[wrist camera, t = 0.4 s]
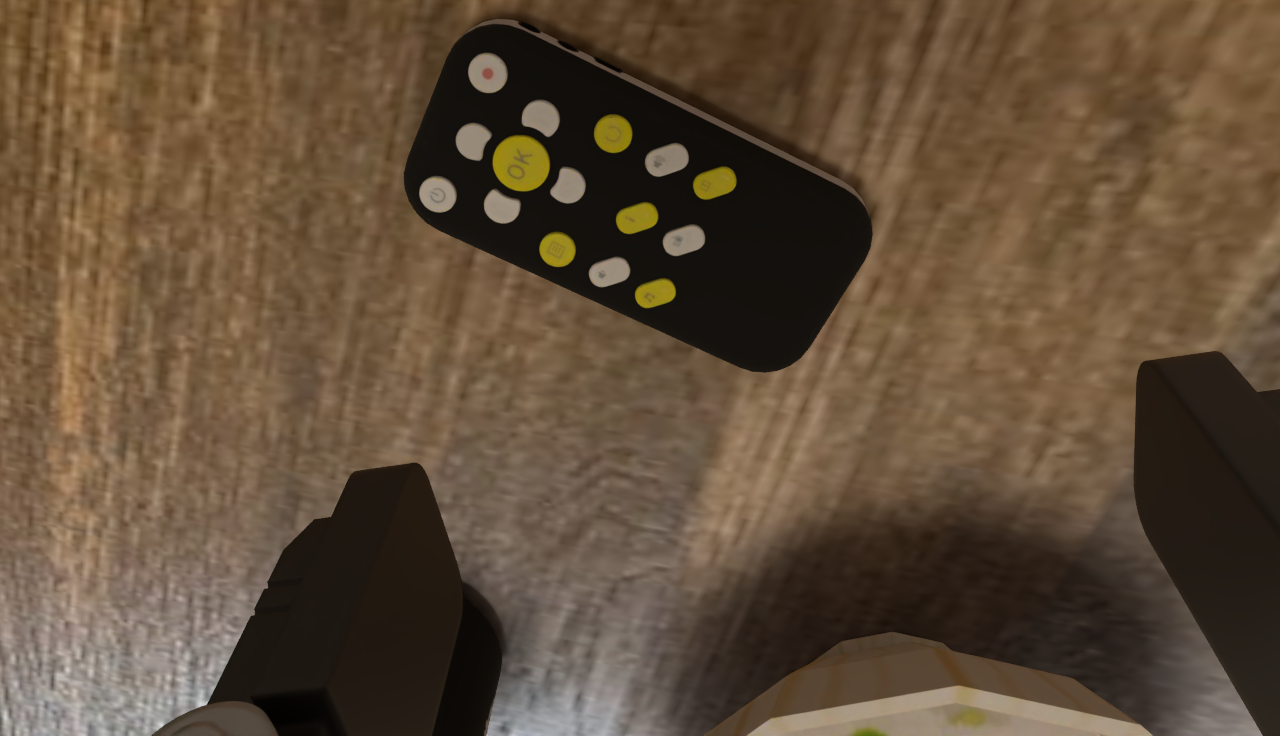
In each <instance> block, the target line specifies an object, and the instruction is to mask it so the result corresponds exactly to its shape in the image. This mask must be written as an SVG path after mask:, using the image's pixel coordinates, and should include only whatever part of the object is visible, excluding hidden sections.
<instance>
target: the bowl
mask: <svg viewBox="0 0 1280 736" xmlns="http://www.w3.org/2000/svg"><path fill="white" fill-rule="evenodd" d="M703 736H1153V735H1152V734H1150V733H1149V732H1148V731H1147V730H1146V729H1145V728H1144V727H1142V726H1141V725H1140V724H1139V723H1137V722H1136V721H1134V720H1133V719H1131V718H1130V717H1128V716H1127V715H1125V714H1124V713H1123V712H1121V711H1120V710H1118V709H1117V708H1115V707H1114V706H1112V705H1111V704H1109V703H1108V702H1107V701H1105V700H1104V699H1102V698H1101V697H1099V696H1098V695H1096V694H1095V693H1093V692H1092V691H1091V690H1089V689H1088V688H1086V687H1085V686H1083V685H1082V684H1080V683H1079V682H1078V681H1076V680H1075V679H1073V678H1070V677H1066V676H1061V675H1057V674H1053V673H1048V672H1044V671H1040V670H1035V669H1031V668H1027V667H1022V666H1018V665H1014V664H1009V663H1005V662H1001V661H996V660H992V659H987V658H983V657H978V656H974V655H969V654H964V653H960V652H955V651H952V650H950V649H949V648H948V647H947V646H946V645H945V644H943V643H942V642H937V641H932V640H928V639H923V638H919V637H914V636H910V635H905V634H901V633H896V632H888V633H883V634H878V635H872V636H867V637H862V638H856V639H851V640H846V641H841V642H839V643H838V644H837V645H835V646H834V647H832V648H831V649H830V650H828V651H827V652H825V653H824V654H822V655H821V656H820V657H818V658H817V659H815V660H814V661H813V662H811V663H810V664H808V665H806V666H804V667H802V668H800V669H798V670H796V671H794V672H793V673H791V674H789V675H788V676H786V677H785V678H783V679H782V680H780V681H779V682H778V683H776V684H775V685H773V686H772V687H771V688H769V689H768V690H766V691H765V692H764V693H762V694H761V695H759V696H758V697H756V698H755V699H754V700H752V701H751V702H749V703H748V704H747V705H745V706H744V707H742V708H741V709H740V710H738V711H737V712H735V713H734V714H732V715H731V716H730V717H728V718H727V719H725V720H724V721H723V722H721V723H720V724H718V725H717V726H716V727H714V728H713V729H711V730H710V731H709V732H707V733H706V734H704V735H703Z"/></svg>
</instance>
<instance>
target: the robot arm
mask: <svg viewBox="0 0 1280 736" xmlns="http://www.w3.org/2000/svg"><path fill="white" fill-rule="evenodd" d="M1134 492H1135V499H1136V505H1137V509H1138V514H1139V517H1140V520H1141V523H1142V526H1143V529H1144V531H1145V534H1146V536H1147V538H1148V539H1149V541H1150V543H1151V545H1152V546H1153V548H1154V550H1155V551H1156V553H1157V555H1158V557H1159V558H1160V560H1161V562H1162V563H1163V565H1164V567H1165V569H1166V570H1167V572H1168V574H1169V575H1170V577H1171V579H1172V581H1173V582H1174V584H1175V586H1176V587H1177V589H1178V591H1179V593H1180V594H1181V596H1182V598H1183V599H1184V601H1185V603H1186V605H1187V606H1188V608H1189V610H1190V611H1191V613H1192V615H1193V617H1194V618H1195V620H1196V622H1197V623H1198V625H1199V627H1200V629H1201V630H1202V632H1203V634H1204V635H1205V637H1206V639H1207V641H1208V642H1209V644H1210V646H1211V647H1212V649H1213V651H1214V653H1215V654H1216V656H1217V658H1218V659H1219V661H1220V663H1221V665H1222V666H1223V668H1224V670H1225V671H1226V673H1227V675H1228V677H1229V678H1230V680H1231V682H1232V683H1233V685H1234V687H1235V689H1236V690H1237V692H1238V694H1239V695H1240V697H1241V699H1242V701H1243V702H1244V704H1245V706H1246V707H1247V709H1248V711H1249V713H1250V714H1251V716H1252V718H1253V719H1254V721H1255V723H1256V725H1257V726H1258V728H1259V730H1260V731H1261V733H1262V735H1263V736H1280V389H1278V390H1270V391H1263V392H1256V390H1255V389H1254V388H1253V387H1252V386H1251V385H1250V384H1249V383H1248V381H1247V380H1246V379H1245V378H1244V377H1243V376H1242V375H1241V374H1240V372H1239V371H1238V370H1237V369H1236V368H1235V367H1234V366H1233V364H1232V363H1231V362H1230V361H1229V360H1228V359H1227V358H1226V357H1225V356H1224V355H1223V354H1222V353H1220V352H1218V351H1212V352H1205V353H1198V354H1191V355H1184V356H1177V357H1170V358H1163V359H1156V360H1149V361H1144V362H1143V363H1142V364H1141V365H1140V367H1139V370H1138V374H1137V383H1136V415H1135V449H1134ZM267 583H268V588H267V589H264V591H263V593H262V595H261V597H260V599H259V601H258V603H257V605H256V607H255V609H254V610H255V615H254V616H251V617H250V619H249V621H248V623H247V625H246V627H245V629H244V631H243V633H242V635H241V637H240V639H239V641H238V643H237V645H236V647H235V649H234V651H233V653H232V655H231V657H230V659H229V661H228V663H227V665H226V667H225V669H224V671H223V673H222V675H221V677H220V680H219V682H218V684H217V686H216V688H215V690H214V692H213V694H212V696H211V698H210V700H209V702H208V704H207V705H205V706H202V707H199V708H197V709H194V710H191V711H189V712H187V713H185V714H183V715H181V716H179V717H177V718H175V719H174V720H172V721H171V722H169V723H167V724H166V725H164V726H163V727H162V728H160V729H159V730H158V731H156V732H155V733H154V734H153V735H152V736H432V733H433V729H434V725H435V721H436V718H437V714H438V710H439V706H440V702H441V698H442V694H443V690H444V686H445V682H446V678H447V674H448V670H449V666H450V662H451V658H452V654H453V650H454V646H455V642H456V638H457V634H458V630H459V627H460V623H461V618H462V608H463V594H462V583H461V577H460V572H459V568H458V564H457V561H456V558H455V555H454V552H453V549H452V547H451V544H450V541H449V538H448V535H447V532H446V529H445V526H444V523H443V520H442V517H441V514H440V511H439V508H438V505H437V502H436V499H435V496H434V493H433V491H432V488H431V485H430V482H429V479H428V476H427V474H426V472H425V470H424V469H423V467H422V466H421V465H420V464H418V463H409V464H402V465H395V466H388V467H381V468H374V469H367V470H360V471H355V472H353V473H352V474H351V475H350V477H349V479H348V481H347V483H346V485H345V488H344V490H343V492H342V494H341V496H340V499H339V501H338V503H337V505H336V507H335V510H334V512H333V514H332V516H331V517H328V518H321V519H314V520H313V521H312V522H311V523H310V524H309V525H308V526H307V527H306V528H305V529H304V530H303V531H302V532H301V533H300V534H299V535H298V536H297V537H296V538H295V539H294V540H293V541H292V542H291V543H290V544H289V545H288V546H287V547H286V548H285V549H284V550H283V552H282V554H281V556H280V558H279V560H278V562H277V564H276V566H275V568H274V570H273V572H272V574H271V576H270V578H269V580H268V582H267Z"/></svg>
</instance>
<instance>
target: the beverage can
mask: <svg viewBox="0 0 1280 736" xmlns="http://www.w3.org/2000/svg"><path fill="white" fill-rule="evenodd" d="M501 666H502V654H501V648H500V644H499V640H498V638H497V635H496V633H495V631H494V629H493V628H492V626H491V624H490V623H489V621H488V620H487V619H486V618H485V616H484V615H483V614H482V613H481V612H480V611H479V610H478V609H477V608H476V607H474V606H473V605H472V604H471V603H470V602H469V601H468V600H467V599H466V598H464V597H463V608H462V618H461V623H460V627H459V630H458V634H457V638H456V642H455V646H454V650H453V654H452V658H451V662H450V666H449V670H448V674H447V678H446V682H445V686H444V690H443V694H442V698H441V702H440V706H439V710H438V714H437V718H436V721H435V725H434V729H433V733H432V736H486V733H487V729H488V725H489V720H490V716H491V711H492V707H493V703H494V698H495V694H496V689H497V685H498V681H499V676H500V672H501Z"/></svg>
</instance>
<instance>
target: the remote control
mask: <svg viewBox="0 0 1280 736" xmlns="http://www.w3.org/2000/svg"><path fill="white" fill-rule="evenodd" d="M622 72H623V70H621V69H619V68H617V67H615V66H613V65H611V64H609V63H607V62H605V61H603V60H601V59H599V58H597V57H594V58H593V57H591V56H589V55H587V54H585V53H583V52H581V51H579V50H577V49H576V48H575V47H573V46H572V45H570V44H568V43H566V42H563V41H559V40H557V39H555V38H553V37H551V36H549V35H547V34H545V33H543V32H541V31H539V30H538V29H537V28H535V27H534V26H532V25H530V24H528V23H525V22H518V21H515V20H508V19H495V20H490V21H485V22H482V23H480V24H478V25H476V26H475V27H473V28H471V29H469V30H468V31H467V32H466V33H465V34H464V35H463V36H462V37H461V38H460V39H459V40H458V41H457V42H456V43H455V44H454V46H453V48H452V49H451V51H450V53H449V55H448V56H447V59H446V61H445V64H444V66H443V69H442V72H441V74H440V77H439V79H438V82H437V84H436V87H435V89H434V92H433V95H432V97H431V100H430V102H429V105H428V107H427V110H426V113H425V115H424V118H423V120H422V123H421V125H420V128H419V130H418V133H417V136H416V138H415V141H414V143H413V146H412V148H411V151H410V154H409V156H408V159H407V163H406V167H405V171H404V185H405V190H406V193H407V196H408V199H409V202H410V203H411V205H412V206H413V208H414V210H415V211H416V213H417V214H418V215H419V216H420V217H421V218H422V219H423V220H424V221H425V222H426V223H427V224H429V225H431V226H432V227H434V228H436V229H437V230H439V231H441V232H444V233H446V234H448V235H450V236H452V237H454V238H457V239H459V240H461V241H463V242H465V243H468V244H470V245H472V246H474V247H476V248H479V249H481V250H483V251H485V252H487V253H490V254H492V255H494V256H496V257H498V258H501V259H503V260H505V261H507V262H509V263H512V264H514V265H516V266H518V267H520V268H523V269H525V270H527V271H529V272H531V273H533V274H536V275H538V276H540V277H542V278H544V279H547V280H549V281H551V282H553V283H555V284H558V285H560V286H562V287H564V288H566V289H569V290H571V291H573V292H575V293H577V294H580V295H582V296H584V297H586V298H588V299H591V300H593V301H595V302H597V303H599V304H602V305H604V306H606V307H608V308H610V309H612V310H615V311H617V312H619V313H621V314H623V315H626V316H628V317H630V318H632V319H634V320H637V321H639V322H641V323H643V324H645V325H648V326H650V327H652V328H654V329H656V330H659V331H661V332H663V333H665V334H667V335H670V336H672V337H674V338H676V339H678V340H681V341H683V342H685V343H687V344H689V345H692V346H694V347H696V348H698V349H700V350H702V351H705V352H707V353H709V354H711V355H713V356H716V357H718V358H720V359H722V360H724V361H727V362H729V363H731V364H733V365H735V366H738V367H740V368H743V369H746V370H749V371H752V372H772V371H778V370H781V369H783V368H786V367H788V366H790V365H792V364H793V363H794V362H796V361H797V360H799V359H800V358H801V357H802V356H803V355H804V354H805V352H806V351H807V350H808V349H809V348H810V346H811V344H812V343H813V341H814V340H815V338H816V337H817V335H818V333H819V332H820V330H821V329H822V327H823V325H824V324H825V322H826V321H827V319H828V318H829V316H830V314H831V313H832V311H833V310H834V308H835V307H836V305H837V303H838V302H839V300H840V299H841V297H842V295H843V294H844V292H845V291H846V289H847V288H848V286H849V284H850V283H851V281H852V280H853V278H854V277H855V275H856V273H857V272H858V270H859V269H860V267H861V265H862V264H863V262H864V261H865V259H866V256H867V254H868V252H869V250H870V247H871V241H872V225H871V219H870V216H869V213H868V211H867V208H866V206H865V204H864V201H863V200H862V198H861V197H860V196H859V195H858V193H857V192H856V191H855V190H854V189H853V188H852V187H851V186H849V185H848V184H846V183H845V182H843V181H842V180H840V179H838V178H836V177H834V176H832V175H830V174H828V173H826V172H824V171H822V170H820V169H818V168H816V167H814V166H812V165H810V164H808V163H806V162H804V161H802V160H799V159H797V158H795V157H793V156H791V155H789V154H787V153H785V152H783V151H781V150H779V149H777V148H775V147H773V146H771V145H769V144H767V143H765V142H763V141H761V140H759V139H757V138H755V137H753V136H751V135H749V134H747V133H745V132H743V131H741V130H739V129H737V128H735V127H733V126H731V125H729V124H727V123H725V122H723V121H721V120H719V119H717V118H715V117H713V116H711V115H709V114H707V113H704V112H702V111H700V110H698V109H696V108H694V107H692V106H690V105H688V104H686V103H684V102H682V101H680V100H678V99H676V98H674V97H672V96H670V95H668V94H666V93H664V92H662V91H660V90H658V89H656V88H654V87H652V86H650V85H648V84H646V83H644V82H642V81H640V80H638V79H636V78H634V77H632V76H630V75H628V74H626V73H622Z"/></svg>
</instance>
